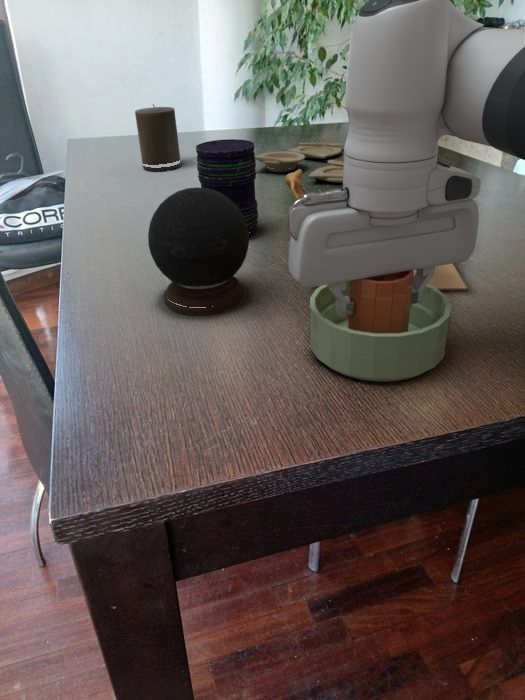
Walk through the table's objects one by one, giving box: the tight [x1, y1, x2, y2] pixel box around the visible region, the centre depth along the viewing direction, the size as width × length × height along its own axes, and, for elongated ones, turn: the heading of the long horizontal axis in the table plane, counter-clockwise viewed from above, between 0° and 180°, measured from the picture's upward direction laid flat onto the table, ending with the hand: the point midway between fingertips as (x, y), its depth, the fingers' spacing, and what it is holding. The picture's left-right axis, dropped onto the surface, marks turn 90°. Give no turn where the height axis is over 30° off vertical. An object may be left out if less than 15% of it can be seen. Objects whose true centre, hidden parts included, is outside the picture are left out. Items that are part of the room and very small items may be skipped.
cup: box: [347, 270, 414, 334], centre depth 63 cm, size 7×7×9 cm
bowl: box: [309, 281, 452, 383], centre depth 64 cm, size 15×15×6 cm
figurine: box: [285, 168, 307, 205], centre depth 93 cm, size 8×6×12 cm
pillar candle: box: [134, 104, 182, 172], centre depth 142 cm, size 10×10×15 cm
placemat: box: [413, 263, 468, 292], centre depth 85 cm, size 20×16×1 cm
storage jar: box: [195, 138, 259, 240], centre depth 97 cm, size 10×10×15 cm
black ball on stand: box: [147, 187, 250, 317], centre depth 75 cm, size 13×13×15 cm
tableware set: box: [255, 142, 345, 184], centre depth 139 cm, size 35×29×4 cm
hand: (378, 308), depth 63 cm, fingers closed on cup, 7 cm apart
